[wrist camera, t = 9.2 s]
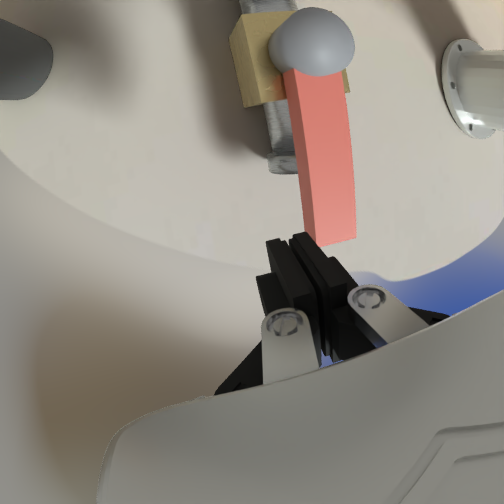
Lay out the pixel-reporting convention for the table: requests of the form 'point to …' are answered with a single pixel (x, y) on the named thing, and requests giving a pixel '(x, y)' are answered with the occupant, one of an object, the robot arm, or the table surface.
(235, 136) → the table surface
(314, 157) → the lever
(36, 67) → the bottle
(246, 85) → the valve body
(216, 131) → the table surface
